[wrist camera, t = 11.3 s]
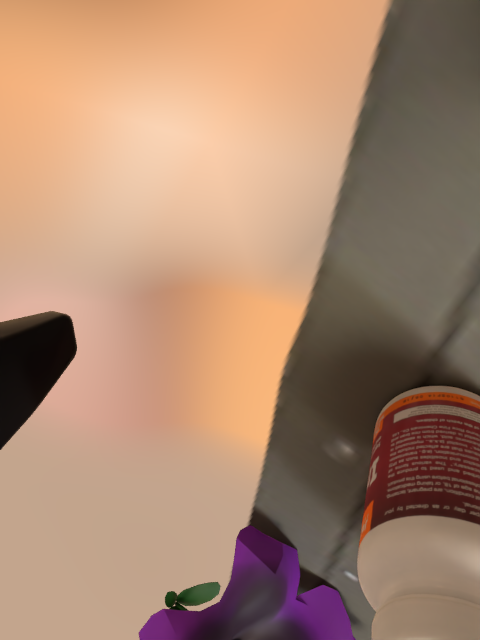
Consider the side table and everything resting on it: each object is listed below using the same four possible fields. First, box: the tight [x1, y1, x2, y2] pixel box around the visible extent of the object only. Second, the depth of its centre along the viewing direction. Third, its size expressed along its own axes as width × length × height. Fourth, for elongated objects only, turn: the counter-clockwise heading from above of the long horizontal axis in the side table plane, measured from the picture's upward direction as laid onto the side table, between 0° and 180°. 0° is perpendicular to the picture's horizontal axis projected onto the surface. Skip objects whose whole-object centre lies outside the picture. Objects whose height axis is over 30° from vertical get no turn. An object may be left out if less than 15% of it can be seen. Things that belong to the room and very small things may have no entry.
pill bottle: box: [357, 386, 480, 640], centre depth 17 cm, size 6×6×11 cm
